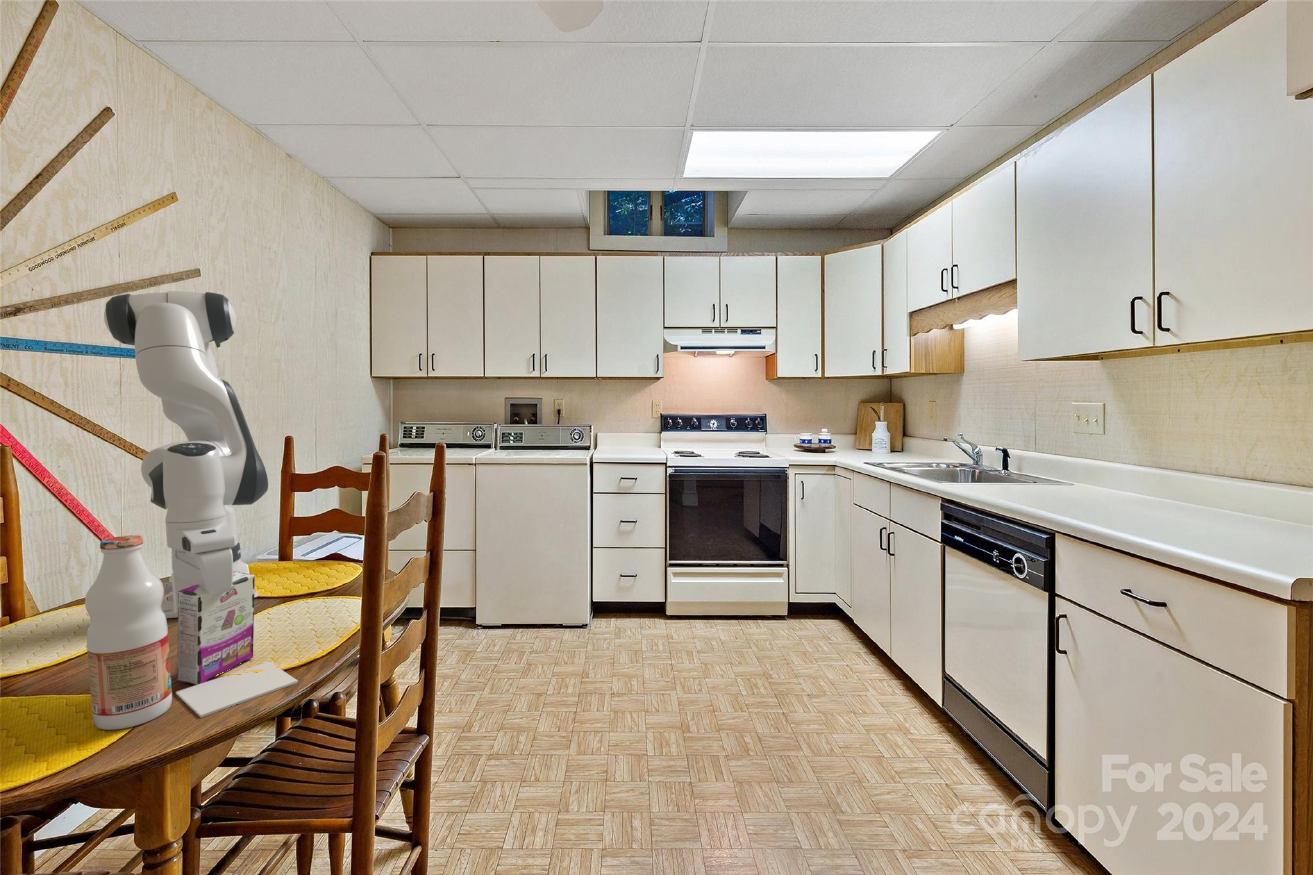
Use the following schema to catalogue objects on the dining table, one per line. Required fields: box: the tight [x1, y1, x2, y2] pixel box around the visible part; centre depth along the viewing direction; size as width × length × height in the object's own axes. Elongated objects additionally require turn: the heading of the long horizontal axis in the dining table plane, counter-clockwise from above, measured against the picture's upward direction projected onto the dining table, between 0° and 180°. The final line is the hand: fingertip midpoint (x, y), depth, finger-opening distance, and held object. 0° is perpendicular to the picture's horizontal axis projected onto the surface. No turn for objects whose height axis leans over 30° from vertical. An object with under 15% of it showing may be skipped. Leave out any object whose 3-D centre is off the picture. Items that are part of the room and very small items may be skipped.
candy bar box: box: [177, 572, 256, 686], centre depth 108 cm, size 11×5×16 cm, turn 168°
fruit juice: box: [84, 534, 173, 731], centre depth 93 cm, size 9×9×28 cm
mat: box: [175, 661, 299, 719], centre depth 103 cm, size 12×14×1 cm
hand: (203, 608), depth 111 cm, fingers closed
